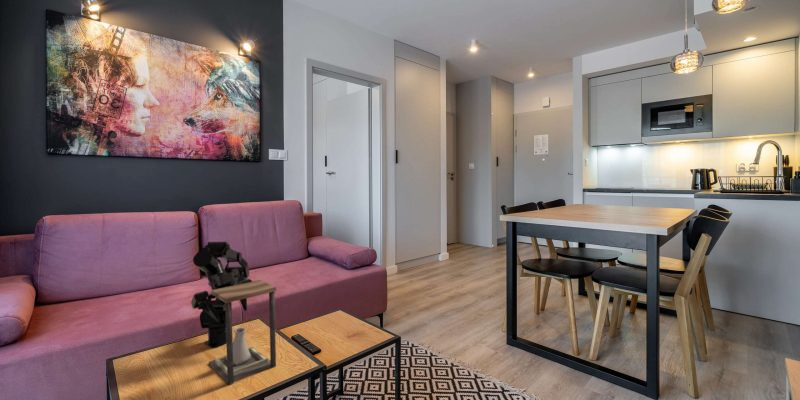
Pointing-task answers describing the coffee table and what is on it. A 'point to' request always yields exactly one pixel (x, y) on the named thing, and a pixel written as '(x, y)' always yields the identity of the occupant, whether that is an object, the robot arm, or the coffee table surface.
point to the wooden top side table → (221, 364)
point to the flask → (240, 347)
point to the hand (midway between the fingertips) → (232, 315)
